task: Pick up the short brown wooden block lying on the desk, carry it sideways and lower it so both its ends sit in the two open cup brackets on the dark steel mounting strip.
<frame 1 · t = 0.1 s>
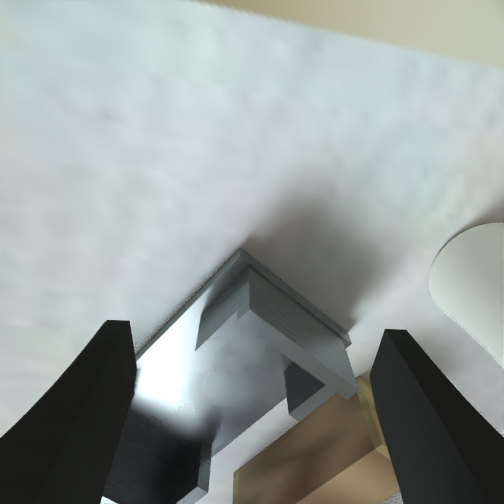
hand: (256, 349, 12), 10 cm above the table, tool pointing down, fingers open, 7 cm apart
cosmetic bottle: (481, 270, 23), on the table
brown wooden block: (311, 440, 29), on the table
brackets: (208, 373, 26), on the table
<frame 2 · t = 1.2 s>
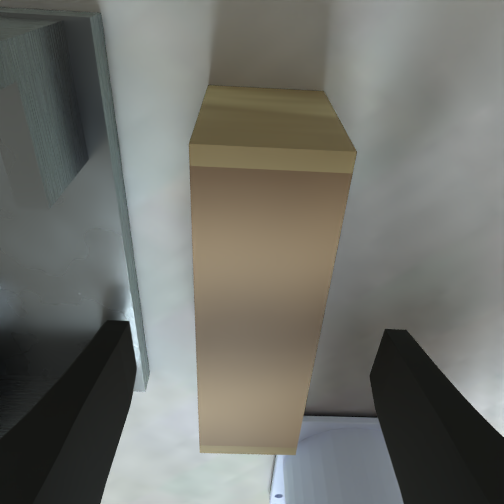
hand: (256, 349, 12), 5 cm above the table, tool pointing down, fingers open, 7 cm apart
brown wooden block: (255, 247, 17), on the table
brackets: (21, 238, 16), on the table
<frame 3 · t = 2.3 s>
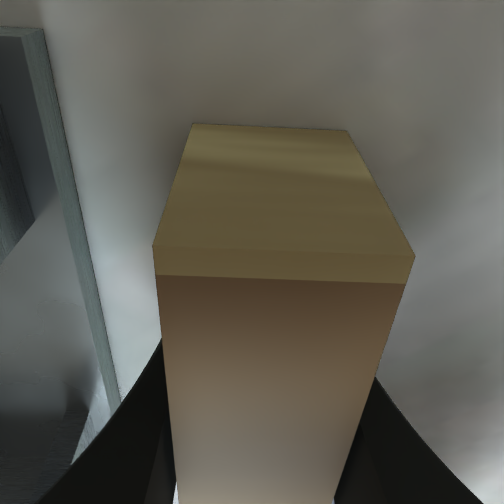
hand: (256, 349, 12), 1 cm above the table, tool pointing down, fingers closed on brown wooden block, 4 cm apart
brown wooden block: (255, 315, 13), on the table, touching gripper
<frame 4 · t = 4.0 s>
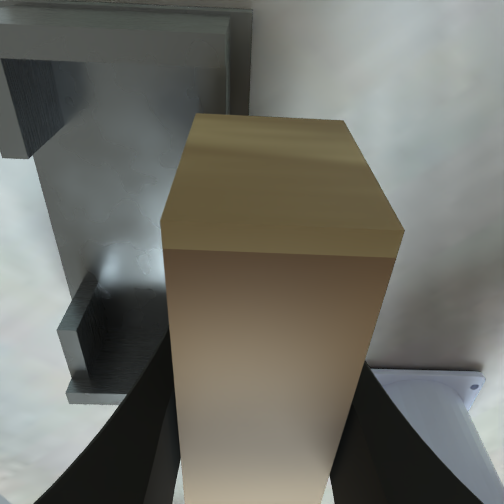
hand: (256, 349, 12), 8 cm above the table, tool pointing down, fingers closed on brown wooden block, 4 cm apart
brown wooden block: (256, 301, 14), point 6 cm above the table, touching gripper
brackets: (151, 204, 19), on the table
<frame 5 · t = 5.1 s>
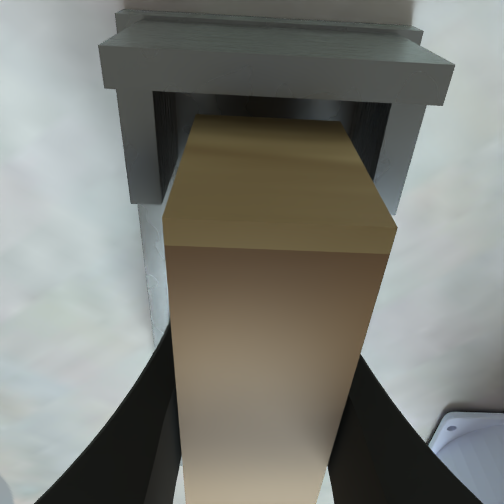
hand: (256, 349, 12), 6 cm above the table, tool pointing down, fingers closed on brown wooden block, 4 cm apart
brown wooden block: (255, 298, 14), point 3 cm above the table, touching gripper
brackets: (254, 240, 17), on the table
when the fingers open (4 cm above the table, at t = 5.9 s): brown wooden block stays where it is, resting on brackets.
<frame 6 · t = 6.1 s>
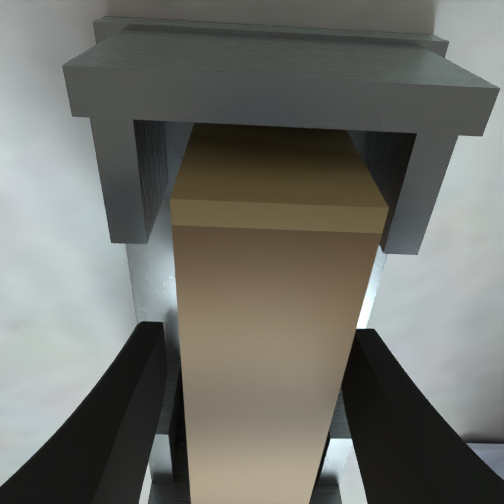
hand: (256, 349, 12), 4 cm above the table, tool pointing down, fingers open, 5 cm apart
brown wooden block: (255, 287, 14), point 1 cm above the table, touching brackets
brackets: (254, 268, 15), on the table
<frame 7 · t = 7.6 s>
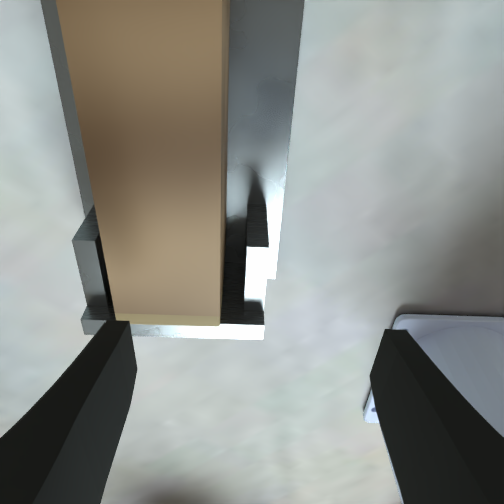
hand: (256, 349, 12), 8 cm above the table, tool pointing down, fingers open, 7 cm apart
brown wooden block: (178, 110, 15), point 1 cm above the table, touching brackets
brackets: (181, 101, 16), on the table
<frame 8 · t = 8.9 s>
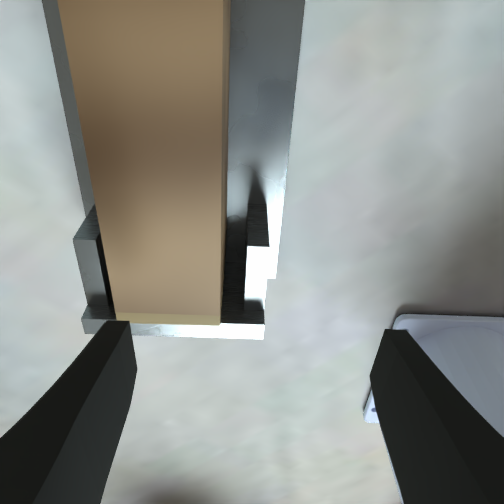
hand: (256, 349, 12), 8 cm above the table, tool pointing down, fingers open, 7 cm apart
brown wooden block: (179, 109, 16), point 1 cm above the table, touching brackets
brackets: (182, 100, 16), on the table
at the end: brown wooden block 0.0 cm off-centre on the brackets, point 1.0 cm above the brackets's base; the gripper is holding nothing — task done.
